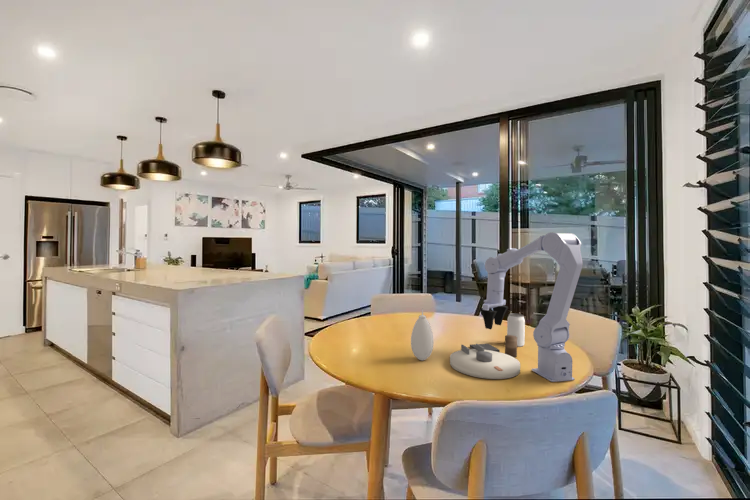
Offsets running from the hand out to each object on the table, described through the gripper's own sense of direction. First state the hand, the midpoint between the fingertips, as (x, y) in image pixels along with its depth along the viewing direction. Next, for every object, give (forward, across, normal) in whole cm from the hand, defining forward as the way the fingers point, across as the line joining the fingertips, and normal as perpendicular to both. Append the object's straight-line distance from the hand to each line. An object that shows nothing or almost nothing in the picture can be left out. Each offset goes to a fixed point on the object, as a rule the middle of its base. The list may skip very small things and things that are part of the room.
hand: (493, 326), depth 126 cm
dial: (+10, +15, +4) cm, 18 cm away
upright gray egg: (+10, +24, -14) cm, 30 cm away
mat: (+10, -2, -4) cm, 11 cm away
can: (+10, -17, +2) cm, 20 cm away
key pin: (+10, -2, +6) cm, 12 cm away
